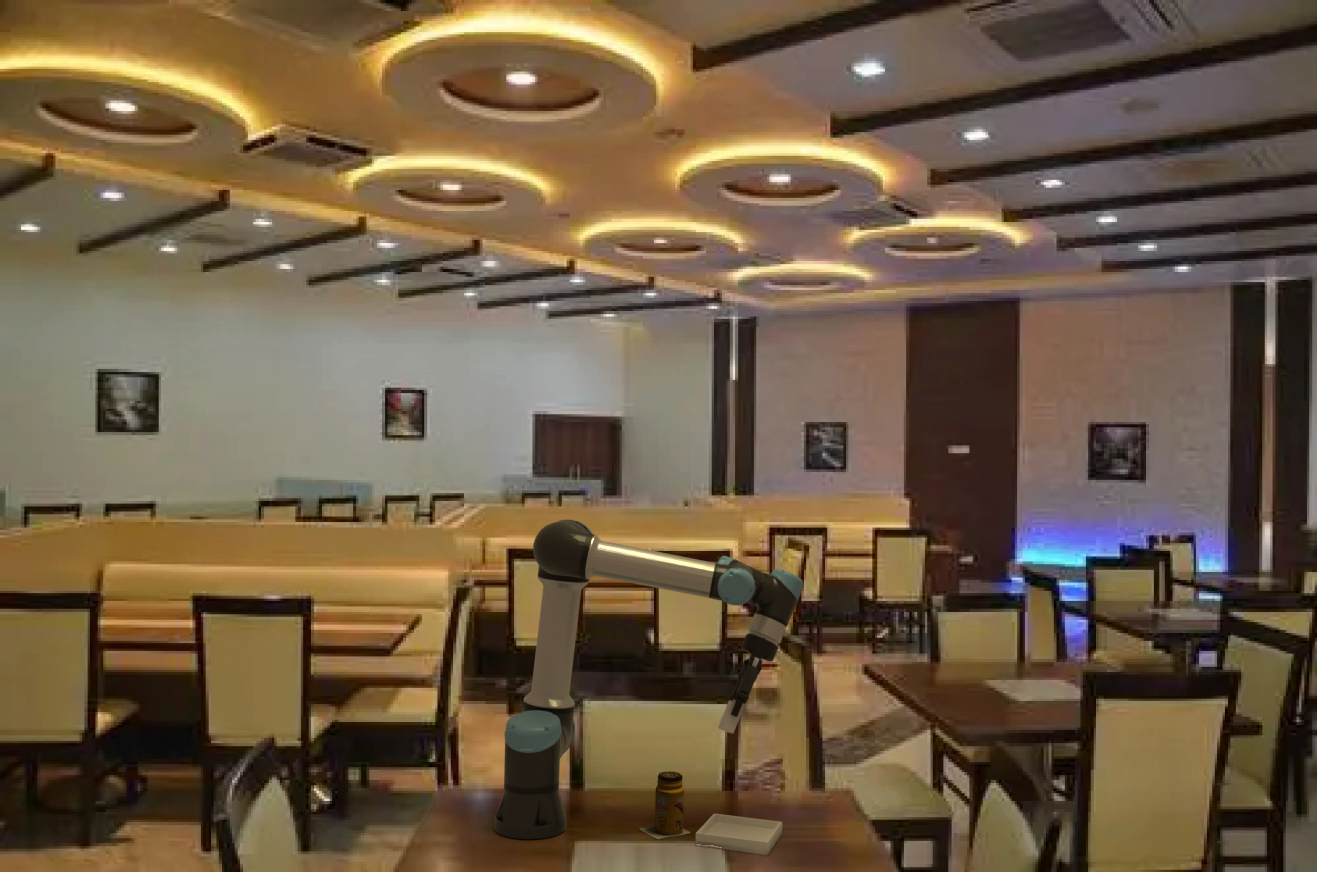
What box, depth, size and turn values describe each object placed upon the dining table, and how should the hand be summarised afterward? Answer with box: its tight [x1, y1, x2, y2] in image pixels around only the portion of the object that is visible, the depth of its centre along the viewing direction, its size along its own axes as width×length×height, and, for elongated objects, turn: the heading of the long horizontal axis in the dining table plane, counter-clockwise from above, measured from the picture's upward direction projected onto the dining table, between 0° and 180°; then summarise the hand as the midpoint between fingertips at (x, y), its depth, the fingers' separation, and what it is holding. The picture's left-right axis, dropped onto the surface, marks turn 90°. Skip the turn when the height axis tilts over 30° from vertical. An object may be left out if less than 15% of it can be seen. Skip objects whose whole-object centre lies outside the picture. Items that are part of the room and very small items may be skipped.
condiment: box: [638, 771, 691, 840], centre depth 233 cm, size 7×8×12 cm
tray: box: [695, 813, 783, 856], centre depth 229 cm, size 15×14×2 cm
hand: (725, 730), depth 236 cm, fingers open, 13 cm apart
